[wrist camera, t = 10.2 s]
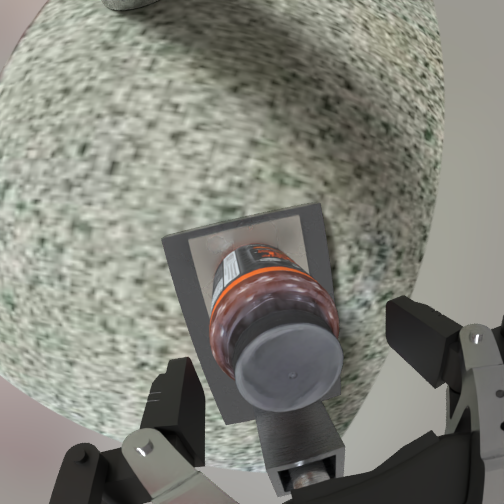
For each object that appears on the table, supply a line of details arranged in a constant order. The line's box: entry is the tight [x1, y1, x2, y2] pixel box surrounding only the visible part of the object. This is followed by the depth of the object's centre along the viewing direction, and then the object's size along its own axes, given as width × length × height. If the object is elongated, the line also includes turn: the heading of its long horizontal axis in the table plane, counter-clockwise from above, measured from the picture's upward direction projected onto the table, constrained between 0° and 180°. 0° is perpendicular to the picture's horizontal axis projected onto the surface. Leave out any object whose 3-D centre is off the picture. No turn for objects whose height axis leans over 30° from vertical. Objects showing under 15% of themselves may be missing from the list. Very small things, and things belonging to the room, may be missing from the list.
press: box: [161, 203, 345, 497], centre depth 17 cm, size 19×12×12 cm, turn 12°
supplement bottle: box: [209, 243, 344, 412], centre depth 14 cm, size 6×6×11 cm
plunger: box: [288, 459, 330, 489], centre depth 12 cm, size 5×5×12 cm
